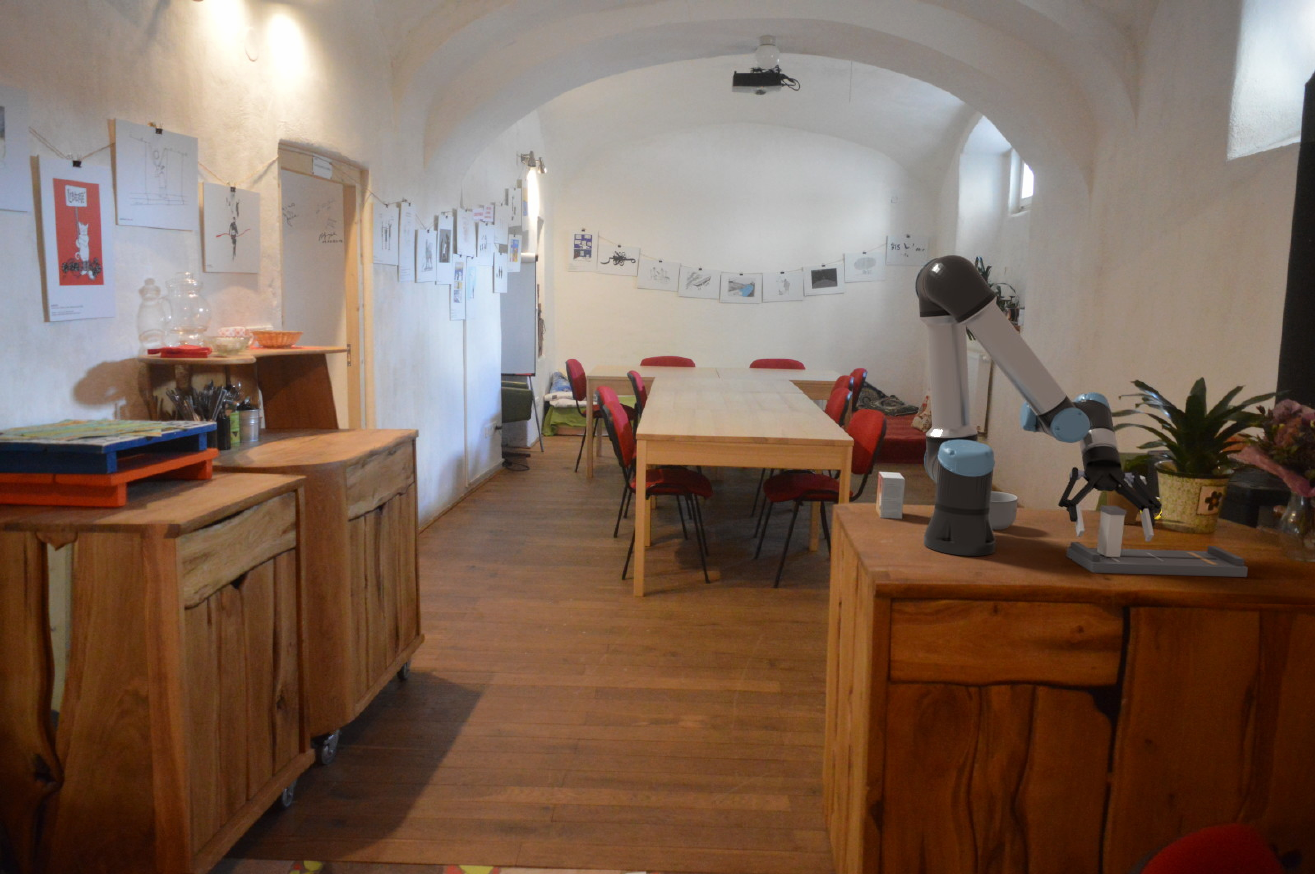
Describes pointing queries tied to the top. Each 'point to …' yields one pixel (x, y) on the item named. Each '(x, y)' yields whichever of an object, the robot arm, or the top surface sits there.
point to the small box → (890, 495)
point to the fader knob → (1110, 530)
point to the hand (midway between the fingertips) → (1115, 536)
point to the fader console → (1160, 561)
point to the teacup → (1002, 510)
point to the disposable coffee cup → (1124, 503)
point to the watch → (1160, 512)
